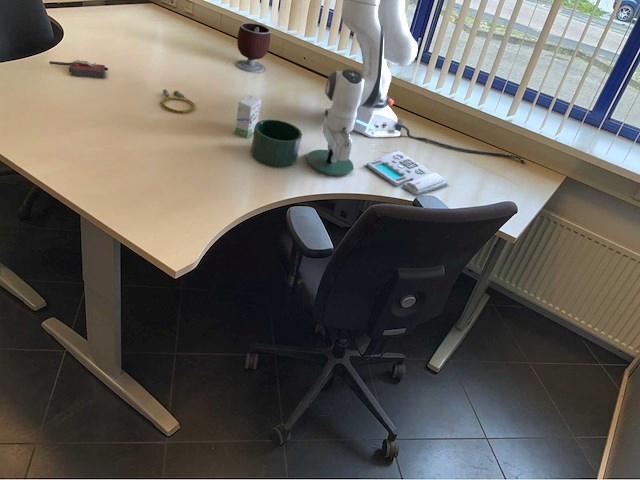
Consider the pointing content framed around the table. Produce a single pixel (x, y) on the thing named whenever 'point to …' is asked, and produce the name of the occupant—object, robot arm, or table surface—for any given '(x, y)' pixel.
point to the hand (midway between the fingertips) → (331, 158)
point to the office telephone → (407, 173)
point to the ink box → (247, 116)
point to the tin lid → (328, 163)
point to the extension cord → (176, 99)
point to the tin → (276, 143)
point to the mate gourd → (252, 45)
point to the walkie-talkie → (84, 69)
